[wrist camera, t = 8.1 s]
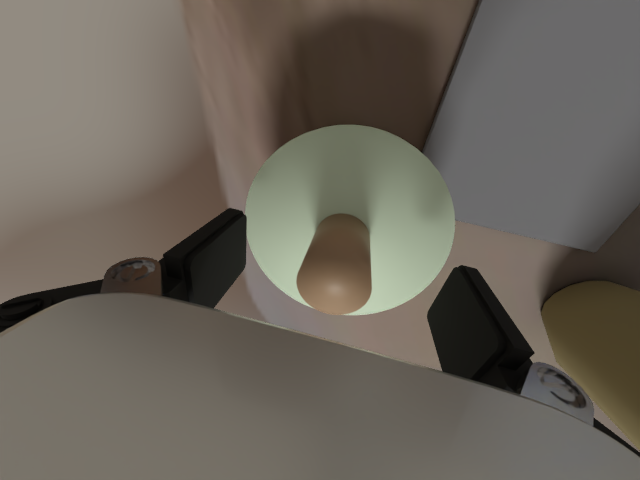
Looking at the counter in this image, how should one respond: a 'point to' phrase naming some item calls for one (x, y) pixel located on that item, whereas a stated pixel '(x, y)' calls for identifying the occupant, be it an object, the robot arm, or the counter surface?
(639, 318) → the squeeze bottle
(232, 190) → the counter surface
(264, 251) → the lid
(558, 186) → the mat
